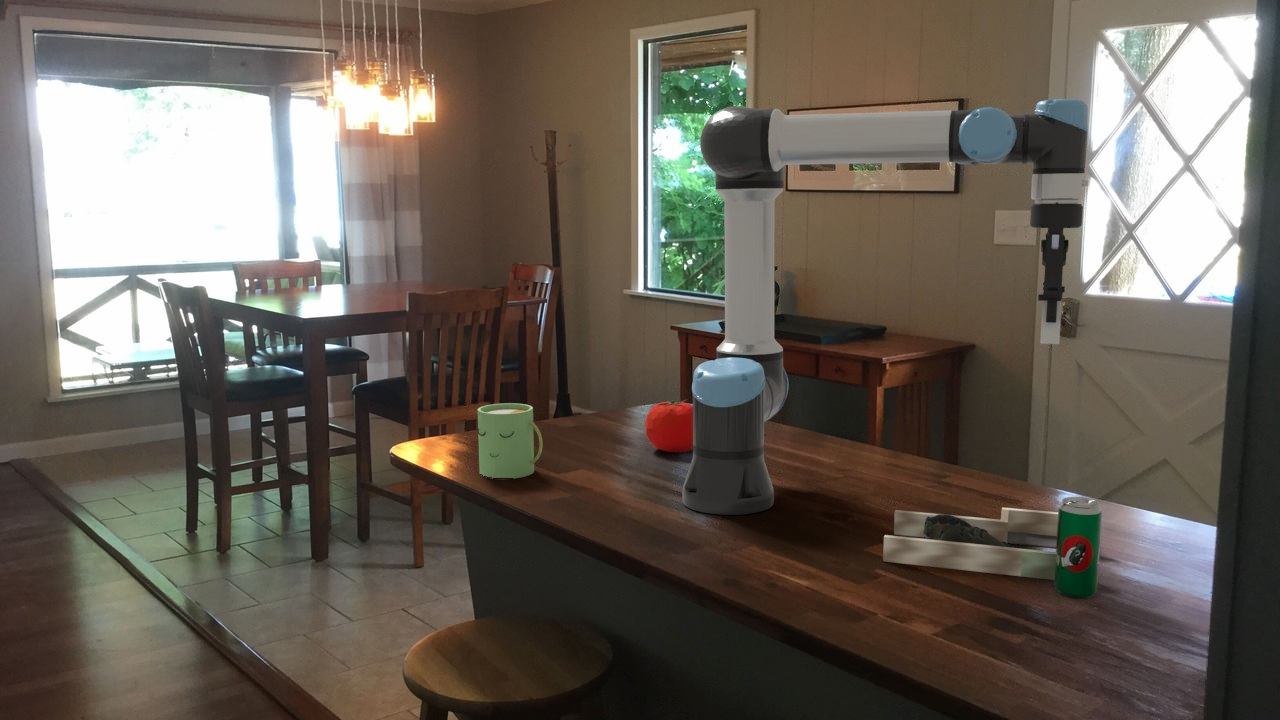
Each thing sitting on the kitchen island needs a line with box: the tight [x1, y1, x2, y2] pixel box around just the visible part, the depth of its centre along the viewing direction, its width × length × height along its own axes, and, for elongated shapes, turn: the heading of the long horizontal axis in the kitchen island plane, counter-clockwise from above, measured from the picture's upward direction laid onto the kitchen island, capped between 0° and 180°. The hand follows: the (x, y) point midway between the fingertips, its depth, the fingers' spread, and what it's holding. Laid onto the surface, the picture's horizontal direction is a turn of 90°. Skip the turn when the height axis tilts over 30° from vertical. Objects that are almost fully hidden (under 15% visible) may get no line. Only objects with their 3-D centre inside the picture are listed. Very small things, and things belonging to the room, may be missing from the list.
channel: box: [882, 507, 1058, 581], centre depth 150 cm, size 27×20×4 cm
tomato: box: [644, 398, 693, 453], centre depth 210 cm, size 12×12×10 cm
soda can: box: [1053, 496, 1103, 599], centre depth 133 cm, size 5×5×12 cm
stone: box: [923, 513, 1014, 548], centre depth 148 cm, size 7×13×5 cm, turn 55°
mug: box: [477, 402, 544, 479], centre depth 194 cm, size 13×10×12 cm
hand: (1049, 338), depth 166 cm, fingers open, 13 cm apart
